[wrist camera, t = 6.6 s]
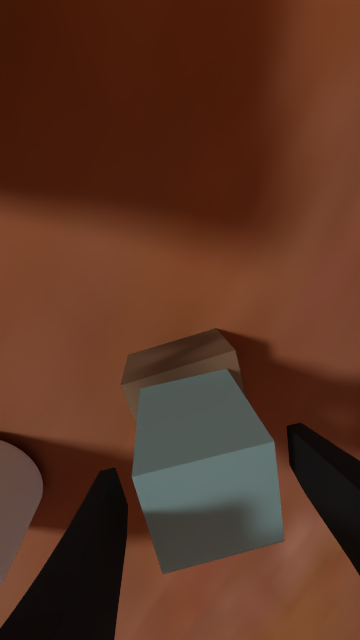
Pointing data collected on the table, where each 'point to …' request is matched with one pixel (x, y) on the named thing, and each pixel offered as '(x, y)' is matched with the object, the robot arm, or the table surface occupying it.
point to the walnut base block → (178, 364)
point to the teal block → (204, 471)
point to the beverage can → (16, 501)
